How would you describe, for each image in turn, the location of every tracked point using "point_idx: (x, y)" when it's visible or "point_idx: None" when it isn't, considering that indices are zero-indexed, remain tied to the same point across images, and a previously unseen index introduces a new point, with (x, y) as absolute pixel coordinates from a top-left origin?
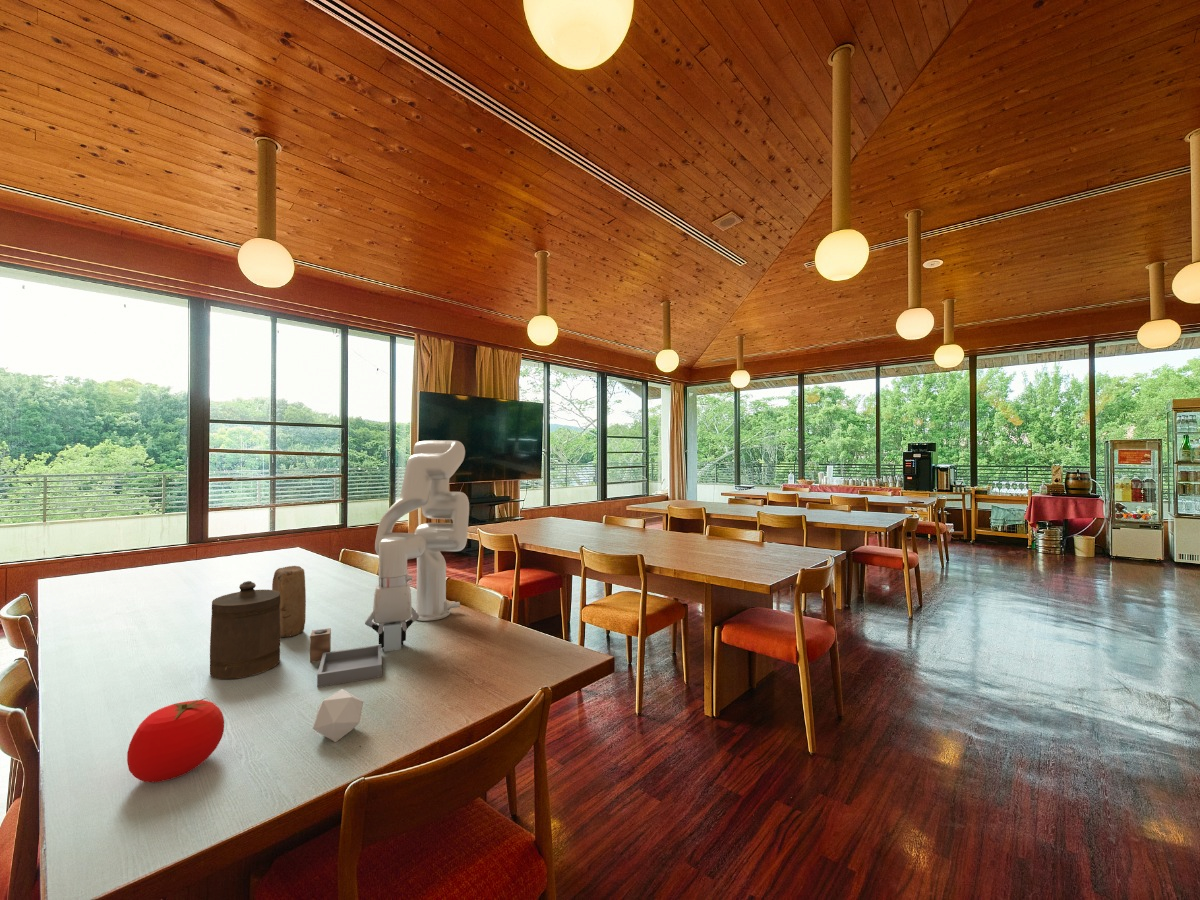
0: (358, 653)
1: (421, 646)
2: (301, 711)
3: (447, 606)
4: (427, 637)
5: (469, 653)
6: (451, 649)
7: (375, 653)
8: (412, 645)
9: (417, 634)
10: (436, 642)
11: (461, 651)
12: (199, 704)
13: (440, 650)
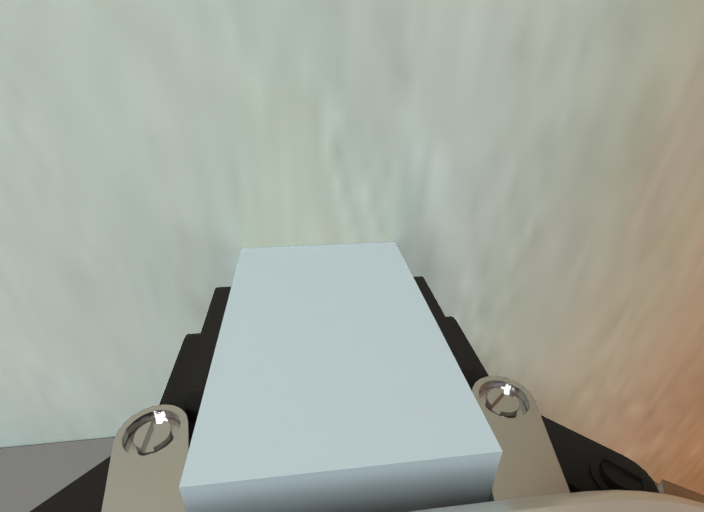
0: None
1: (530, 349)
2: None
3: None
4: (649, 173)
5: (693, 486)
6: (657, 431)
7: None
8: (478, 313)
9: (612, 24)
10: (648, 310)
11: (680, 461)
12: None
13: (602, 431)
